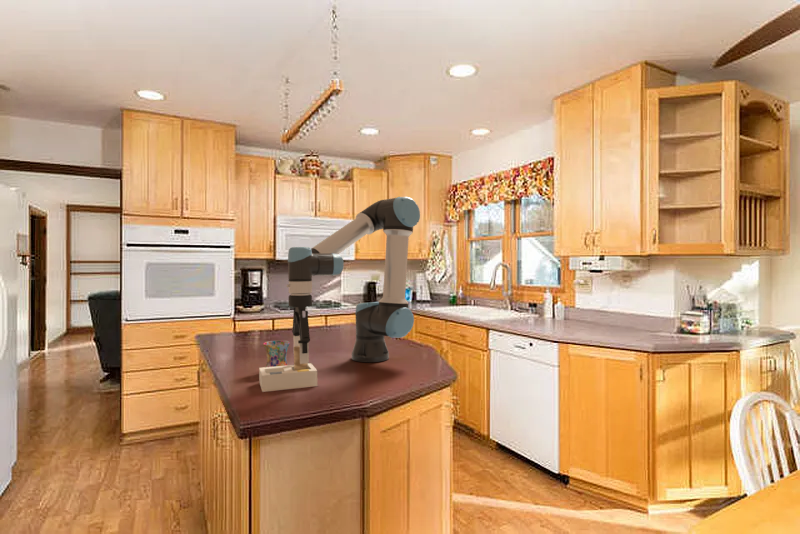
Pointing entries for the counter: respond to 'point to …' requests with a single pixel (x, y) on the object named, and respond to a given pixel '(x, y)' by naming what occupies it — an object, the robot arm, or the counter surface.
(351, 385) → the counter surface
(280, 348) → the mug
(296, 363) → the peg
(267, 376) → the socket block
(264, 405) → the counter surface
